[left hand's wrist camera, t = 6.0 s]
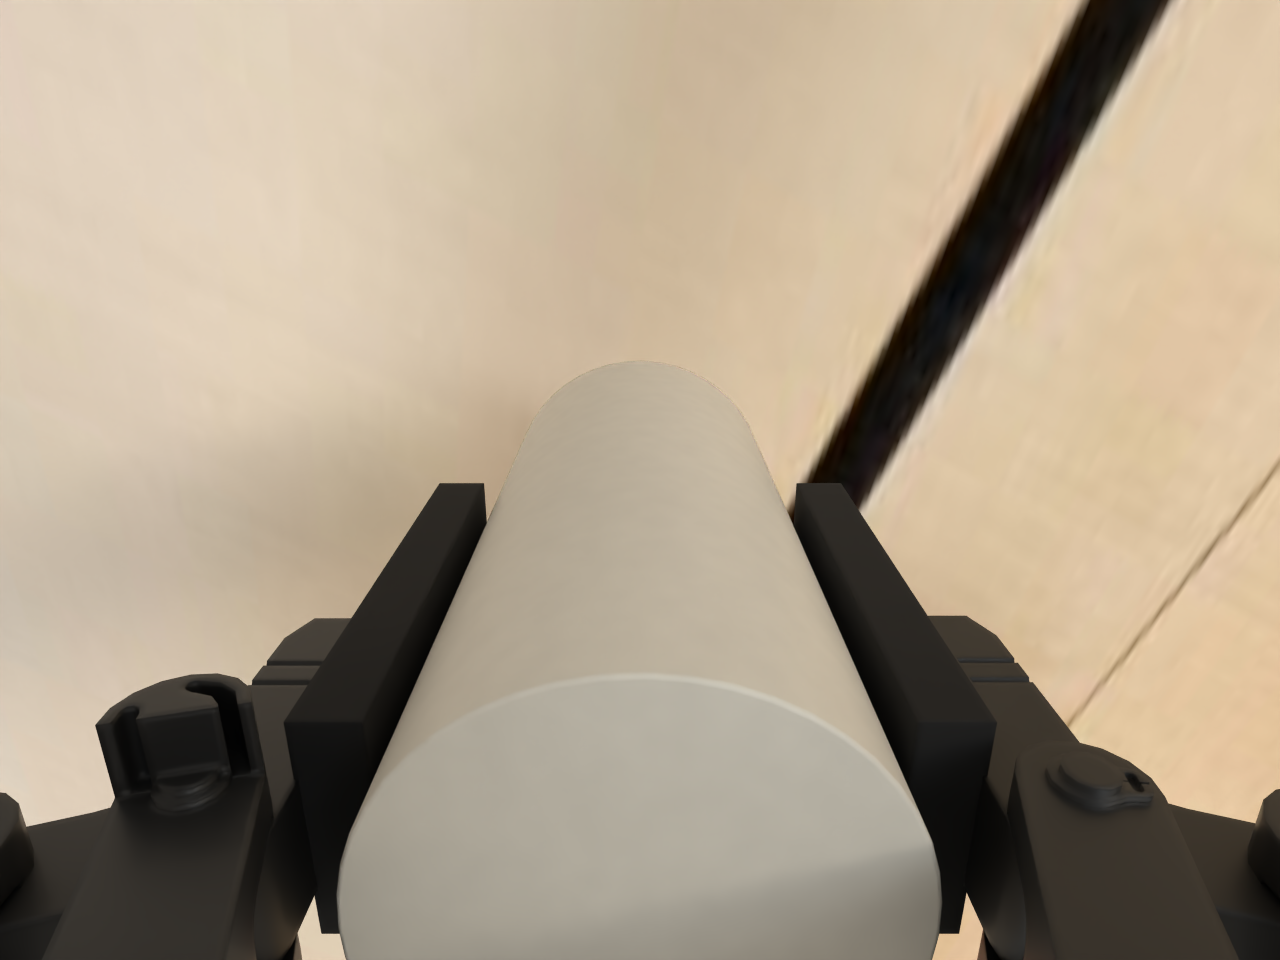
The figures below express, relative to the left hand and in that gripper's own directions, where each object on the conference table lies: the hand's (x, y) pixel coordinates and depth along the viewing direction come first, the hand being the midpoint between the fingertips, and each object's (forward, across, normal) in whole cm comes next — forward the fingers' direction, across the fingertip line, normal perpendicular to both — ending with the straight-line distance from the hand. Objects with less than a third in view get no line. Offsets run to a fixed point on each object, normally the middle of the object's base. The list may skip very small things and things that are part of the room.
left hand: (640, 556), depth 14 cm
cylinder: (+4, 0, 0) cm, 4 cm away
